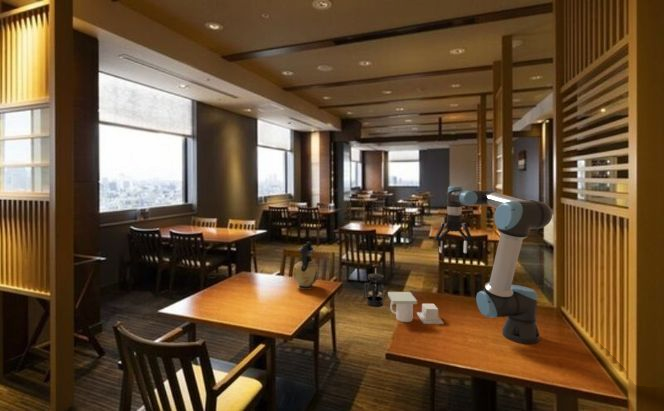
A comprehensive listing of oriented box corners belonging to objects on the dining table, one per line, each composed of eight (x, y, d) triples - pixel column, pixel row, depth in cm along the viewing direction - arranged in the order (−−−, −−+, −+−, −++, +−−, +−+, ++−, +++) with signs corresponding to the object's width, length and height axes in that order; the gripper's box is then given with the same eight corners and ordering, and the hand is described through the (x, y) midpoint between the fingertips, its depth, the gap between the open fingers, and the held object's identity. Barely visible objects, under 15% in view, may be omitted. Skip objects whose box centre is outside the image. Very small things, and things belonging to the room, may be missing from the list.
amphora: (318, 291, 226) (318, 245, 224) (291, 291, 226) (291, 244, 224) (319, 283, 244) (319, 240, 241) (294, 283, 244) (294, 240, 242)
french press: (385, 302, 207) (386, 263, 206) (383, 308, 198) (383, 267, 197) (365, 300, 211) (366, 262, 209) (362, 305, 202) (363, 265, 200)
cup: (409, 323, 177) (409, 303, 176) (386, 318, 184) (387, 299, 183) (414, 318, 184) (415, 299, 183) (393, 313, 191) (393, 295, 190)
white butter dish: (443, 324, 177) (444, 311, 177) (423, 324, 177) (424, 311, 177) (435, 313, 191) (435, 301, 191) (416, 313, 191) (416, 301, 190)
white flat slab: (416, 304, 176) (417, 301, 176) (392, 304, 176) (392, 300, 176) (410, 294, 190) (410, 292, 190) (387, 294, 190) (387, 291, 190)
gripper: (473, 213, 198) (472, 251, 200) (429, 213, 198) (428, 251, 199) (479, 215, 191) (478, 254, 192) (433, 214, 190) (432, 253, 192)
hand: (452, 252), depth 196 cm, fingers open, 13 cm apart
